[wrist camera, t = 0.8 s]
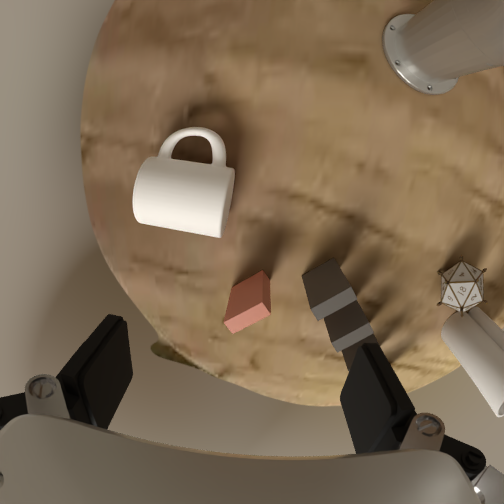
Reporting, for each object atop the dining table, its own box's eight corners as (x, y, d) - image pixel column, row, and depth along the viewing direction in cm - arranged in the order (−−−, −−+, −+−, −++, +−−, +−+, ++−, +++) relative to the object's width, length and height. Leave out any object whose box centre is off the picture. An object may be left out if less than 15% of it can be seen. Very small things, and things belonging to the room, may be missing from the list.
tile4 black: (364, 316, 42) (382, 352, 33) (368, 324, 42) (386, 360, 34) (335, 332, 43) (348, 370, 34) (339, 339, 43) (352, 378, 35)
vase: (436, 345, 43) (488, 422, 24) (447, 310, 41) (511, 385, 22) (479, 336, 43) (532, 400, 24) (490, 304, 40) (553, 364, 22)
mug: (226, 227, 38) (217, 247, 31) (154, 214, 38) (129, 230, 31) (243, 135, 34) (237, 130, 27) (166, 125, 34) (142, 119, 27)
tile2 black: (333, 257, 39) (351, 286, 30) (339, 268, 39) (357, 299, 31) (301, 275, 40) (310, 309, 31) (307, 286, 40) (317, 320, 32)
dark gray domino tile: (350, 288, 40) (369, 322, 32) (355, 298, 41) (373, 332, 32) (319, 305, 41) (331, 342, 33) (325, 314, 42) (337, 352, 33)
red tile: (262, 269, 40) (262, 302, 31) (269, 280, 40) (270, 314, 32) (231, 287, 41) (223, 322, 32) (238, 297, 41) (232, 333, 33)
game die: (435, 258, 42) (462, 238, 33) (473, 278, 40) (504, 262, 30) (419, 309, 40) (446, 299, 31) (459, 328, 38) (492, 321, 29)
